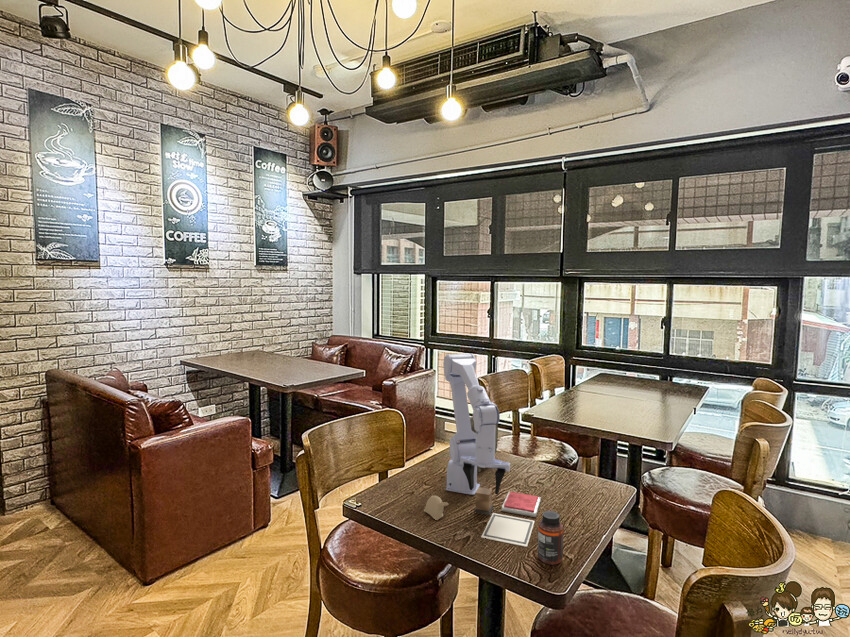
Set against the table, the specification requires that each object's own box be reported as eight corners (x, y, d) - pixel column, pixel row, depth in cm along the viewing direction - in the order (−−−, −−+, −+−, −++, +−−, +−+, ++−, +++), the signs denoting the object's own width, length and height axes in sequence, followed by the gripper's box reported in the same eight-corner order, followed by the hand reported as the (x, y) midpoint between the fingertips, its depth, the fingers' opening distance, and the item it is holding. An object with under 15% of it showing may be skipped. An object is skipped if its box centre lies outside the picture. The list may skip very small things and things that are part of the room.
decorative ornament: (434, 507, 144) (434, 490, 143) (450, 519, 137) (450, 501, 136) (422, 510, 142) (423, 493, 141) (438, 523, 134) (438, 504, 134)
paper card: (481, 537, 127) (481, 536, 127) (492, 513, 140) (492, 512, 140) (527, 547, 123) (527, 546, 123) (534, 521, 136) (534, 520, 136)
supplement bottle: (556, 551, 122) (558, 508, 121) (566, 565, 116) (568, 519, 115) (533, 552, 121) (535, 509, 120) (542, 566, 115) (544, 521, 114)
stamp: (474, 512, 141) (474, 492, 140) (478, 505, 145) (478, 486, 145) (489, 515, 139) (490, 495, 139) (493, 508, 144) (493, 489, 143)
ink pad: (501, 511, 142) (501, 505, 142) (508, 495, 152) (508, 490, 152) (535, 517, 138) (536, 512, 138) (540, 500, 149) (540, 495, 149)
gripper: (457, 446, 139) (456, 492, 141) (507, 453, 134) (506, 500, 135) (464, 439, 146) (463, 482, 147) (512, 445, 141) (510, 490, 142)
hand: (484, 490), depth 142 cm, fingers open, 7 cm apart
